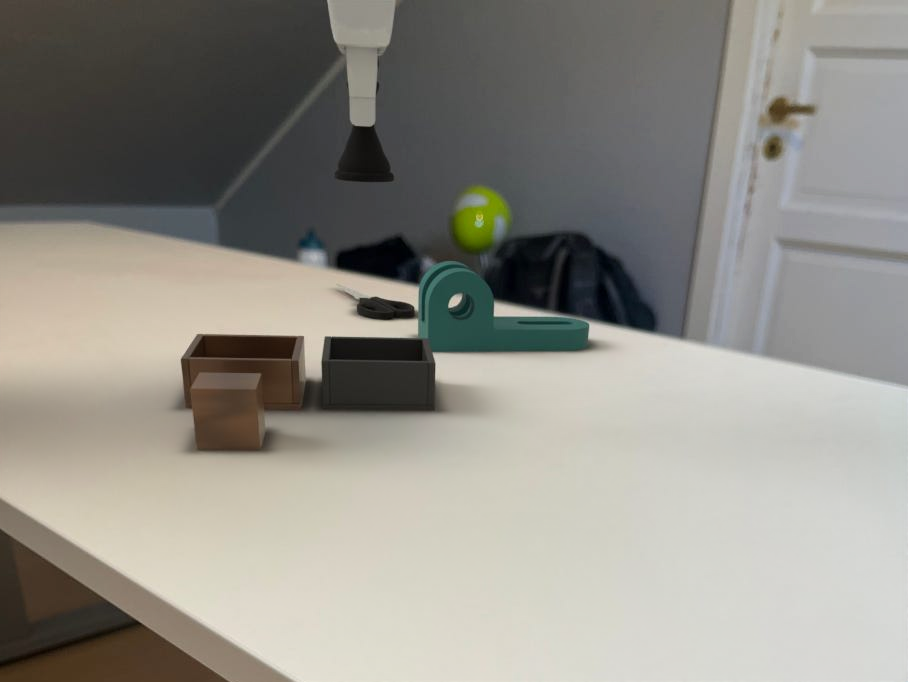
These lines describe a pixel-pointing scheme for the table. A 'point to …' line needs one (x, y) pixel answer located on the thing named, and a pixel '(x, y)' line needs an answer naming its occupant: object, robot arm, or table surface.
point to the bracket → (485, 318)
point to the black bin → (378, 373)
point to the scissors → (380, 306)
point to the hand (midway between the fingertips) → (362, 125)
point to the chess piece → (364, 156)
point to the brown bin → (251, 364)
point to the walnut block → (228, 411)
